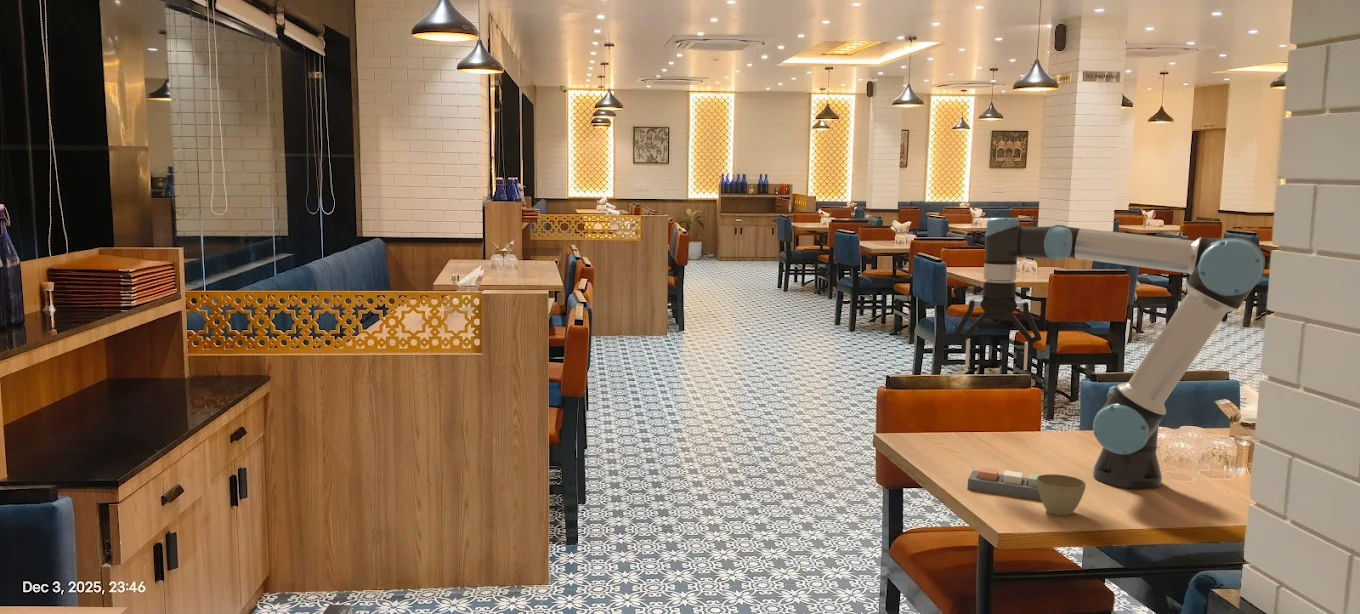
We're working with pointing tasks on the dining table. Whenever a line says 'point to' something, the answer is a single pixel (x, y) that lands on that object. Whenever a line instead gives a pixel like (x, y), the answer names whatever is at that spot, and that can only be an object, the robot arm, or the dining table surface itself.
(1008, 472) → the cream key
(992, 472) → the peach key
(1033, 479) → the sage key
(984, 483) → the keyguard
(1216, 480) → the dining table surface
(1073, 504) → the flower pot
